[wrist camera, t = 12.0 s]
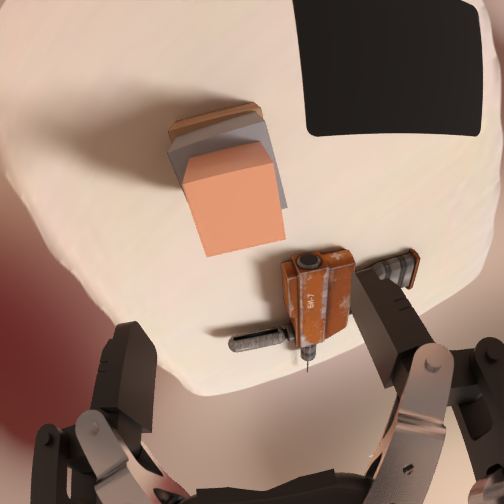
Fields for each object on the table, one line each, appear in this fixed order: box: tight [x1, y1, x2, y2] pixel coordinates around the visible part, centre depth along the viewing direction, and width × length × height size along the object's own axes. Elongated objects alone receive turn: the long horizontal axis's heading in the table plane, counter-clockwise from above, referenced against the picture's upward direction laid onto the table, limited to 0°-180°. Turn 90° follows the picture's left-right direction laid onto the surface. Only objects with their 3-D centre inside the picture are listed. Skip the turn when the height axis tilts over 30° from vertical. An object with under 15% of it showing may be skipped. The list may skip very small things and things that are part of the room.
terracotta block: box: [182, 141, 286, 257], centre depth 19 cm, size 5×5×5 cm
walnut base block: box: [168, 102, 263, 143], centre depth 27 cm, size 8×8×5 cm
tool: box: [228, 249, 420, 372], centre depth 44 cm, size 4×27×30 cm
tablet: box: [293, 0, 483, 137], centre depth 24 cm, size 27×1×20 cm
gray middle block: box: [167, 111, 288, 209], centre depth 23 cm, size 7×7×5 cm
